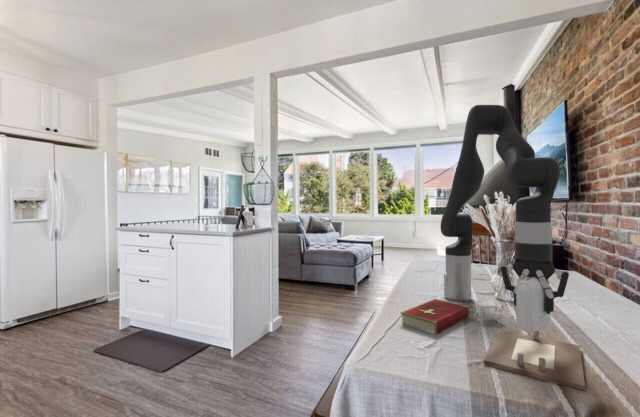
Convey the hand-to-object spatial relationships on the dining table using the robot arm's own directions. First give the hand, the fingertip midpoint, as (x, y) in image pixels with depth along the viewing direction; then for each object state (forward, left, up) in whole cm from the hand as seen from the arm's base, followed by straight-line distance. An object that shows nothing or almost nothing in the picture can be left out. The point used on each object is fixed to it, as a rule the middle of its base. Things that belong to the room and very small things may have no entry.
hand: (533, 310), depth 77 cm
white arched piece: (-13, +23, -12) cm, 29 cm away
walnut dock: (0, 0, -11) cm, 11 cm away
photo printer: (0, 0, -4) cm, 4 cm away
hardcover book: (-27, +11, -12) cm, 31 cm away
